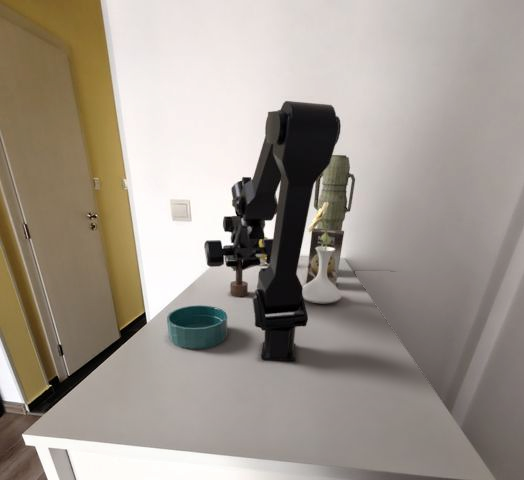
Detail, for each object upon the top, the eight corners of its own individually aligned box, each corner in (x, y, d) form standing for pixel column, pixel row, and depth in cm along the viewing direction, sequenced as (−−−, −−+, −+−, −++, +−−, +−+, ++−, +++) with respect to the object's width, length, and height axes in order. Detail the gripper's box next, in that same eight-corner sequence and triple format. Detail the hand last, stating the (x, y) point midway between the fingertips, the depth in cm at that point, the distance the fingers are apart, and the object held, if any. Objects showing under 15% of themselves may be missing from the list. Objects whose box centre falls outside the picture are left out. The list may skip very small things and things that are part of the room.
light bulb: (250, 262, 123) (250, 234, 118) (267, 262, 125) (268, 234, 120) (255, 267, 117) (255, 238, 112) (273, 266, 119) (274, 237, 114)
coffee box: (305, 286, 101) (310, 231, 93) (307, 280, 106) (313, 227, 98) (335, 289, 99) (343, 233, 91) (336, 283, 104) (344, 229, 97)
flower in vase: (307, 290, 98) (317, 197, 86) (345, 297, 93) (361, 200, 81) (289, 303, 88) (296, 200, 76) (330, 313, 83) (345, 204, 71)
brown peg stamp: (246, 297, 91) (246, 260, 86) (229, 296, 91) (228, 259, 86) (248, 291, 95) (248, 256, 90) (231, 290, 95) (231, 255, 91)
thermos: (309, 267, 120) (321, 155, 103) (342, 271, 117) (360, 156, 100) (304, 273, 113) (315, 154, 96) (339, 278, 109) (357, 155, 92)
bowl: (221, 351, 64) (221, 330, 62) (161, 347, 65) (158, 326, 63) (231, 325, 75) (230, 306, 73) (178, 322, 75) (177, 303, 73)
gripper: (279, 205, 81) (264, 242, 96) (203, 205, 76) (199, 244, 91) (289, 245, 78) (272, 277, 93) (210, 247, 73) (205, 281, 88)
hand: (237, 269), depth 91 cm, fingers closed on brown peg stamp
